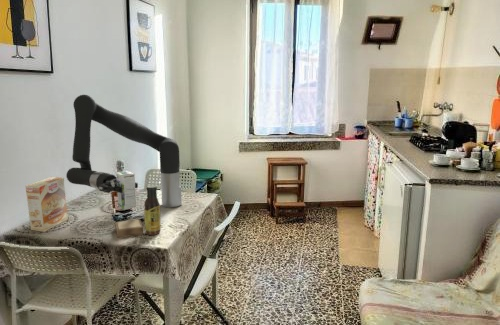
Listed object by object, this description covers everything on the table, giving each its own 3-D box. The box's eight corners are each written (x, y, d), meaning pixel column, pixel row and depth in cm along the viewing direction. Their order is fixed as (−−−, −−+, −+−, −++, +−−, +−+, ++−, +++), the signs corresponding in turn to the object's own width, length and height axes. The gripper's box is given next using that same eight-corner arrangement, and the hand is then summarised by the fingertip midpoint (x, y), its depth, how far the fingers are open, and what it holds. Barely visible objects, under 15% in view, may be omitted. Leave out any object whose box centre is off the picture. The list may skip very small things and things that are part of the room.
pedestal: (140, 225, 162) (139, 218, 162) (143, 234, 153) (142, 226, 153) (115, 228, 159) (115, 221, 158) (117, 237, 150) (117, 230, 149)
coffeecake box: (44, 232, 155) (39, 186, 151) (30, 230, 156) (24, 185, 152) (68, 219, 169) (64, 177, 165) (55, 217, 171) (50, 176, 166)
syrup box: (117, 206, 154) (115, 172, 151) (131, 203, 158) (129, 170, 154) (122, 210, 150) (120, 175, 146) (137, 207, 153) (135, 173, 150)
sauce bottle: (152, 237, 151) (150, 189, 146) (142, 233, 154) (139, 187, 149) (164, 231, 156) (162, 185, 152) (153, 228, 159) (151, 183, 155)
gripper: (87, 176, 152) (114, 182, 144) (116, 169, 164) (142, 175, 156) (89, 194, 154) (115, 201, 145) (117, 185, 166) (143, 192, 157)
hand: (129, 187), depth 151 cm, fingers closed on syrup box, 7 cm apart
